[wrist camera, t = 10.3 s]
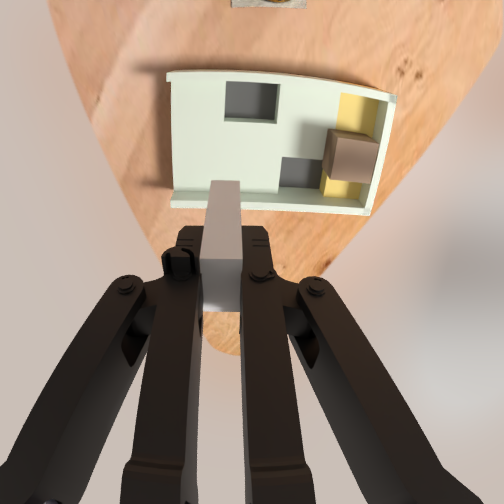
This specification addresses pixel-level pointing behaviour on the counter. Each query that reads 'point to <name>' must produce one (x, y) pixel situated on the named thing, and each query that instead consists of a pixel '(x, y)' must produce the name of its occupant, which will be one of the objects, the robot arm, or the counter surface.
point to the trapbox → (271, 138)
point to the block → (349, 156)
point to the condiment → (270, 3)
